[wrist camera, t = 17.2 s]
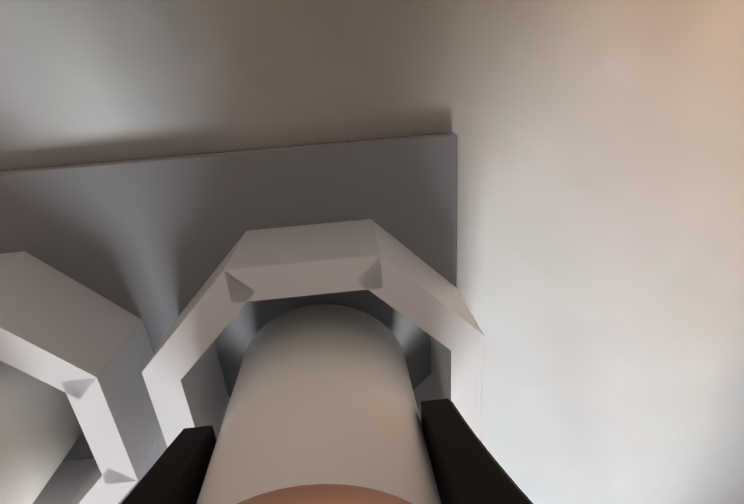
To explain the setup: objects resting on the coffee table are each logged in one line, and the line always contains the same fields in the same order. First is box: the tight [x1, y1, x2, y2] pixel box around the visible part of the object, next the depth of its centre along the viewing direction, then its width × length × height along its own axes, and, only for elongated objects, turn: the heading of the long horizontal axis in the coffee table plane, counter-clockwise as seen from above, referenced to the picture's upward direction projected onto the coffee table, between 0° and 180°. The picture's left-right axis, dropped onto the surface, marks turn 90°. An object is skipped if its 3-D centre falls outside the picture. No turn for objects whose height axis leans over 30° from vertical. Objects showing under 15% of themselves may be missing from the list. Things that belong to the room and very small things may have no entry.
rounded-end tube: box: [196, 304, 441, 504], centre depth 9 cm, size 4×4×6 cm
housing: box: [0, 133, 484, 504], centre depth 12 cm, size 17×12×3 cm
